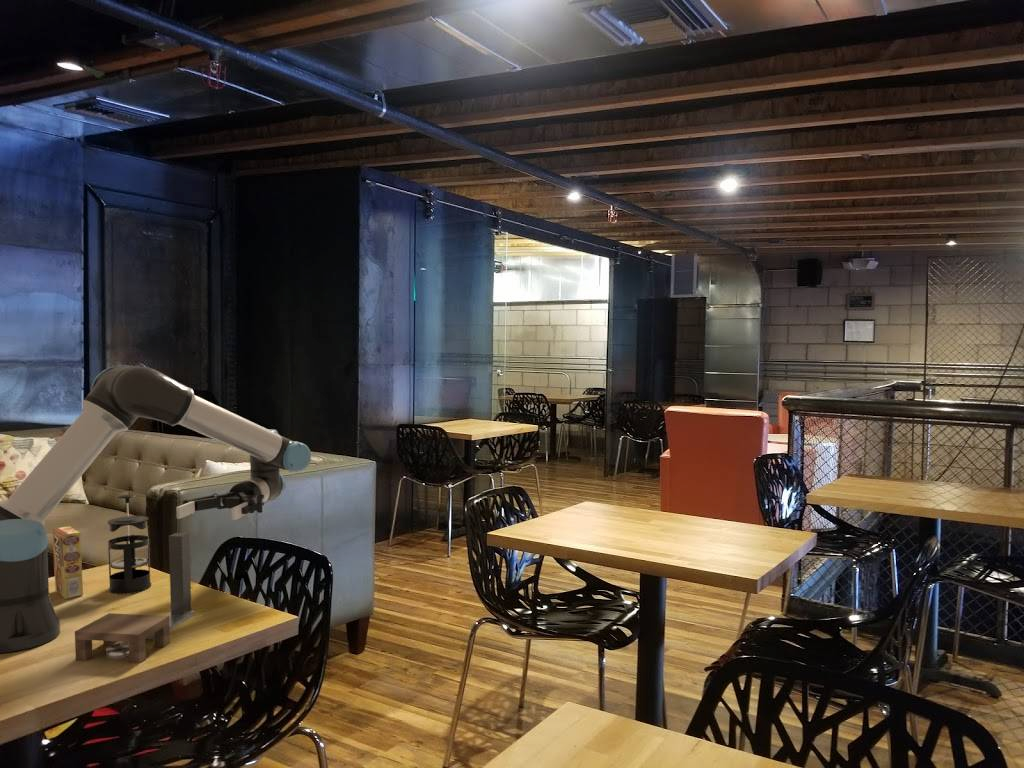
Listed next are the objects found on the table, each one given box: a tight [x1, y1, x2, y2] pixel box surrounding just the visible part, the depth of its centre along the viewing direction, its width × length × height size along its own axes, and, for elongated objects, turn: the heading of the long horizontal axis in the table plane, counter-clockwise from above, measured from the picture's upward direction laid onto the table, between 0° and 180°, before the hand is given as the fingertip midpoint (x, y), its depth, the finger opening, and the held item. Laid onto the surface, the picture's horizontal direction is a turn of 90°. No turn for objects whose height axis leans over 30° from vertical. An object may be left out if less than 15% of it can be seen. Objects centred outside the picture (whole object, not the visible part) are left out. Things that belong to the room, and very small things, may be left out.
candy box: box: [51, 526, 84, 600], centre depth 187 cm, size 9×4×15 cm, turn 44°
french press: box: [107, 493, 152, 595], centre depth 191 cm, size 12×9×23 cm
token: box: [105, 642, 129, 660], centre depth 151 cm, size 5×5×2 cm
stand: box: [74, 612, 171, 664], centre depth 152 cm, size 13×10×6 cm
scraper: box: [145, 532, 195, 640], centre depth 166 cm, size 6×15×18 cm, turn 172°
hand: (205, 513), depth 182 cm, fingers open, 13 cm apart
